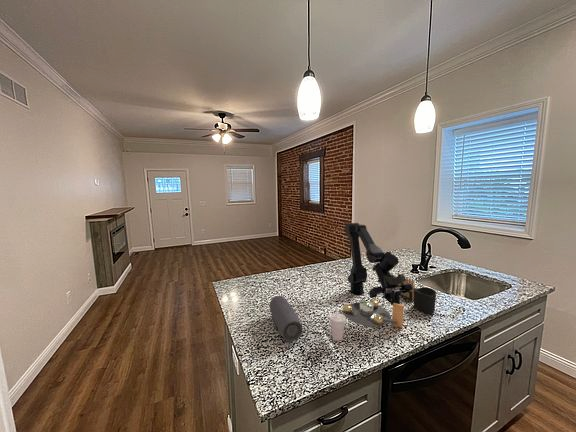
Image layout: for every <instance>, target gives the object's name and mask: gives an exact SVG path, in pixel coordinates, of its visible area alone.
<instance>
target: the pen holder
mask: <svg viewBox="0 0 576 432" xmlns="http://www.w3.org/2000/svg"><path fill="white" fill-rule="evenodd" d="M436 298H437V291H436V290H435V289H432V288H429V287H428V286H426V287H425V286H423V287H419V288H416V287H414V301H413V308H414V309H415V310H416V311H418V312H421V313H422V314H424V315H426V316H429V315H430V316H431V315H433V314H434V313H435V310H436V309H435V307H436V302H437V301H436Z"/></svg>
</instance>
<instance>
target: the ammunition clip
mask: <svg viewBox="0 0 576 432" xmlns="http://www.w3.org/2000/svg"><path fill="white" fill-rule="evenodd" d="M398 274H400V272H398V273H397V275H398ZM404 276H405V275H404ZM405 279H406V281H403V284H404V283H410V284H411V285H412V287H413V289H412V290H410V291H409V292H407V293H404V294H400V297H402V298H403V299H406V300H407V301H409V302H414V288H415V280H414V279H413V278H411V277H409V276H405ZM400 285H401V284H399V285H398V286H396V287H399V286H400Z"/></svg>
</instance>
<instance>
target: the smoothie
mask: <svg viewBox="0 0 576 432" xmlns="http://www.w3.org/2000/svg"><path fill="white" fill-rule="evenodd" d="M329 321H330V330H331V338H332V339H333V340H334V341H336V342H339V341H342V340H343V338H344V333H345V325H346V322H347V318H346V317H345V315H344V313H340V312H338V306H337V305H335V313H334V312H333V313H331V314H330V315H329Z"/></svg>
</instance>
